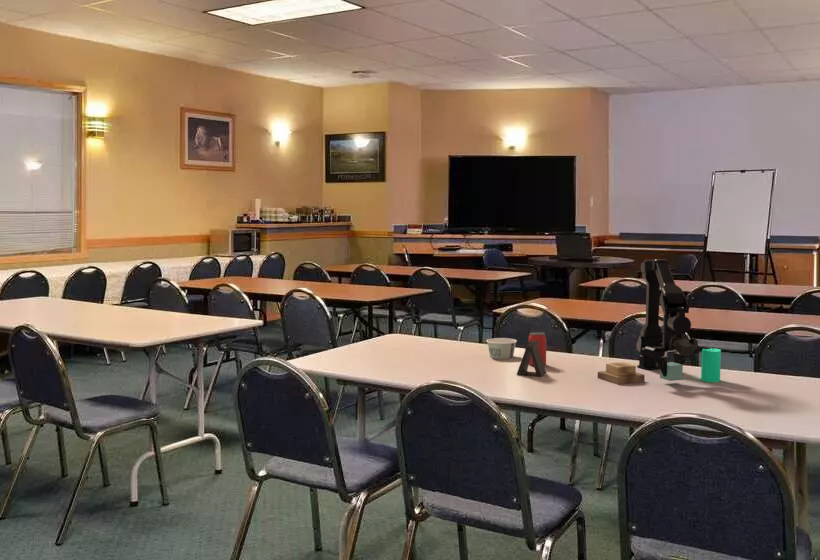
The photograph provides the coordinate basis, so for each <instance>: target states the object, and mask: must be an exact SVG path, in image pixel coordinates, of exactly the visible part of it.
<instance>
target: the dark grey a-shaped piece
mask: <svg viewBox="0 0 820 560" xmlns="http://www.w3.org/2000/svg"><path fill="white" fill-rule="evenodd" d="M531 344H532V345H531ZM531 355H532V360H533V364H534V366H533V368H534V371H530V370H529V371H528V368H529V366H530V365H529V362H530V358H531ZM546 374H547V371H546V368H545V365H544V364H543V361H542V358H541V355H540V352H539V349H538V341H537V340H534V341H533V340H531V341H529V340H528V341H527V342H526V343H525V345H524V354H523V356H522V358H521V361H520V364H519V366H518V369H517V372H516V376H522V377H534V378H542V377H543V376H545V375H546Z"/></svg>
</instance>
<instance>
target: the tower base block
mask: <svg viewBox="0 0 820 560" xmlns="http://www.w3.org/2000/svg"><path fill="white" fill-rule="evenodd" d="M597 379H599V380H602V381H605V382H607V383H611V384H615V385H619V386H620V385H627V384H634V383H635V384H636V383H644V382H645V374H643V373H641V372H640V373H639V372H636V375H626V376H615V375H612V374H610V373H607V372H606V370H603V371H601V370H600V371H597Z"/></svg>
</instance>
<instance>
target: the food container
mask: <svg viewBox="0 0 820 560" xmlns="http://www.w3.org/2000/svg"><path fill="white" fill-rule="evenodd" d="M485 341H486V342H487V346H488V347H487V348H488V353H489V357H490V358H492V359H496V360H497V359H498V360H506V359H512V358H514V354H515V349H516V344H517V342H518V340H517V339H514V338H508V337H495V338H488V339H486V340H485Z"/></svg>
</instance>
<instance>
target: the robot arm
mask: <svg viewBox="0 0 820 560" xmlns="http://www.w3.org/2000/svg"><path fill="white" fill-rule="evenodd" d="M640 272H641V276H642V278H643V280H644V283H646V295H645V296H646V297H645V300H646V301H645V324H644V325H643V326H642V328H641V329H640V335H639V336H638V337H637V338H638V339H637V342H636V350H637V351H638V352H639V357H638V360H639V361H638V364H637V365H636V367H637V368H641V369H644V370H649V371H650V370H659V371H660V370H661V372H662V374H663V376H664V377H666V375H667V363H668V361H669V360H670V358H671V357H669V356H668V354H672V355H673V362H674V363H678V364H682V365H683V366H684V364H685V362H686V360H687V359H689V358H690V357H692V356H693V355H696V354H697V355H698V354H700V347H699V341H698V339H696V338H694V337H693V338H689V339H687V338H686V337H685V334H687V333H688V332H690V330H691V327H692V323H691V320H690V318H689V317H687V316H686V314H689V313H690V312H689V310H690V306H689V305H690V304H689V303H688V299H687V297H686V294H685V293H684V290H682V287H679V286H678V285H677V284H676V282H675V280H674V277H673V274H672V271H671V269H670V262H669V259H666V258H663V259H662V258H657V259H644V261H643V262H641V263H640ZM660 292H661V294H660ZM660 307H661V310H662V313H663V314H662V315H663V320H662V321H663V323H662V328H661V326H660V323H659V322H660V321H659V320H660Z"/></svg>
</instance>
